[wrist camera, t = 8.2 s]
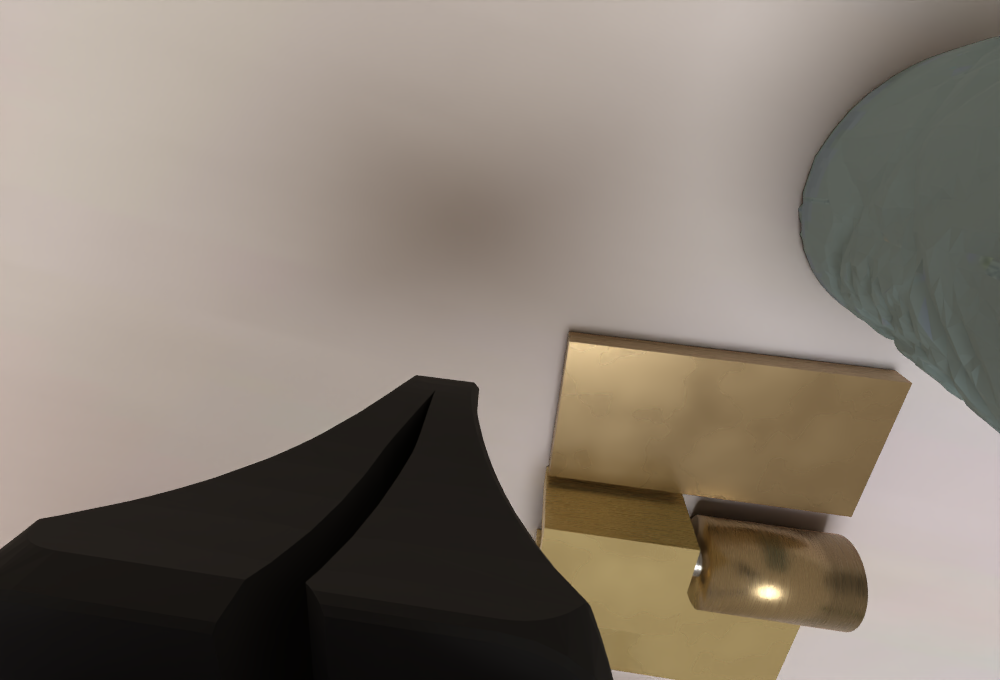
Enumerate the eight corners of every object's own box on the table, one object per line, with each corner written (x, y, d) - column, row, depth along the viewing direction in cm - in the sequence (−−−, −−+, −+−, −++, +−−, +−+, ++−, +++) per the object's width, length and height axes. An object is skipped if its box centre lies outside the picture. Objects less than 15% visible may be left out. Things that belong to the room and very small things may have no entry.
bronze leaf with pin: (537, 539, 24) (533, 606, 21) (568, 331, 20) (570, 373, 17) (805, 578, 23) (845, 653, 20) (895, 370, 19) (964, 422, 16)
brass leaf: (521, 636, 27) (515, 712, 23) (546, 466, 23) (544, 528, 19) (761, 673, 26) (792, 757, 23) (834, 505, 22) (885, 577, 18)
